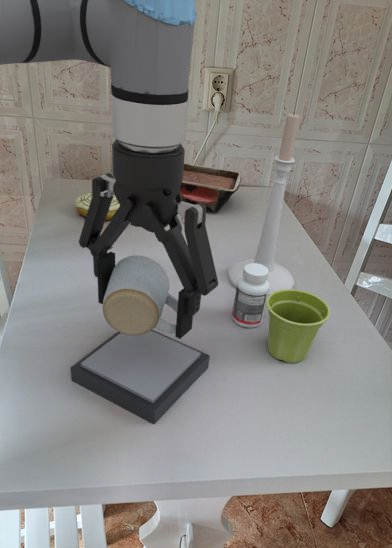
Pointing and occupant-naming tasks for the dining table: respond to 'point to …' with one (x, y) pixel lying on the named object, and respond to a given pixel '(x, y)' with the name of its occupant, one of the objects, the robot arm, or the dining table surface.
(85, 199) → the decorated donut
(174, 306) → the ceramic mug
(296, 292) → the plant pot
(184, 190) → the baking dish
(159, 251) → the dining table surface
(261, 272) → the pill bottle
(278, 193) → the candlestick
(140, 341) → the scale
